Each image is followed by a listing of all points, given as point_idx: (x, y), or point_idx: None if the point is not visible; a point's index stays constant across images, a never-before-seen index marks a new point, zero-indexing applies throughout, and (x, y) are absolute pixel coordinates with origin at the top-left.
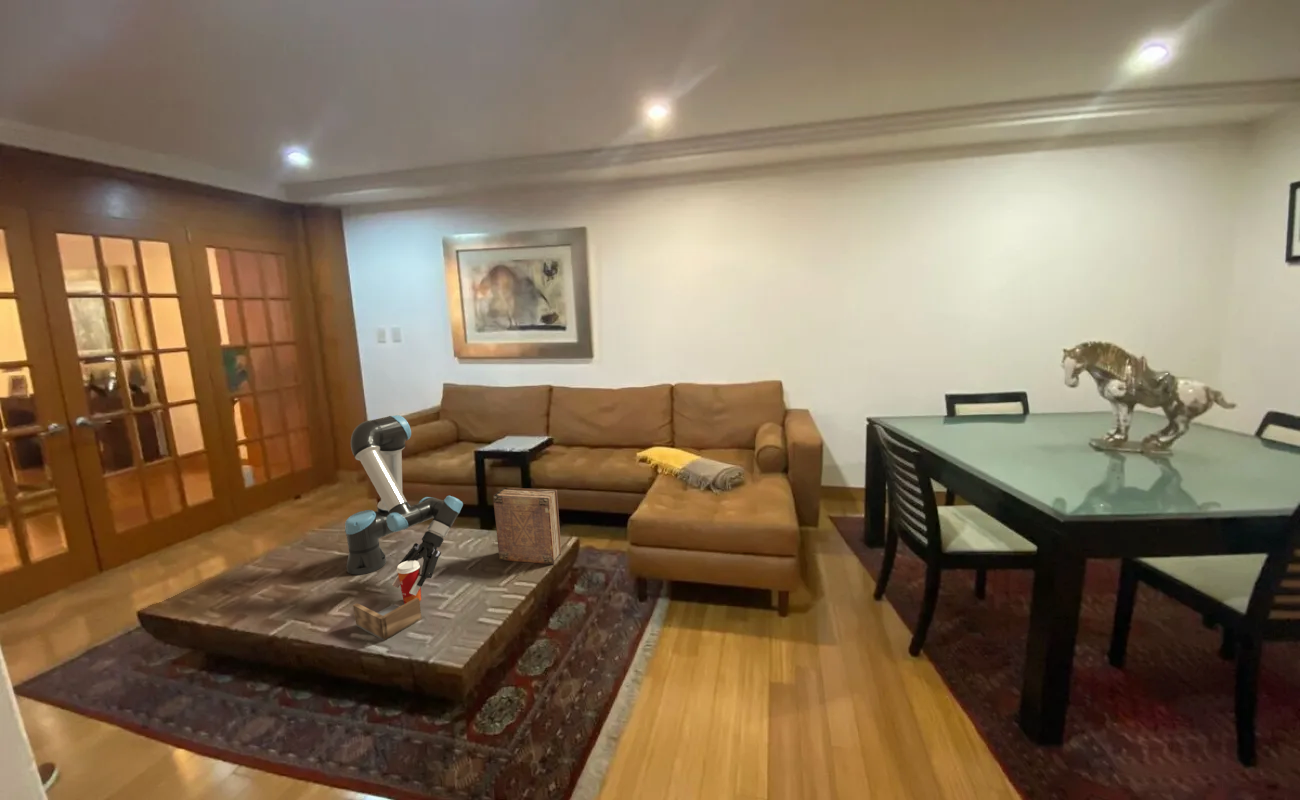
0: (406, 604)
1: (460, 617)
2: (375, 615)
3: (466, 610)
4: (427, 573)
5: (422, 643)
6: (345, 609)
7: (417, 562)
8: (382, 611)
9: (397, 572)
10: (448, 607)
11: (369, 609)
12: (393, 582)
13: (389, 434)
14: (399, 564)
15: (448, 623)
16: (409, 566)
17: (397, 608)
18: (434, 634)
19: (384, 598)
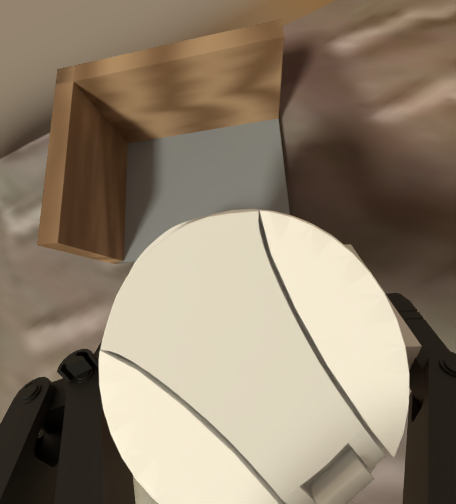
0: (52, 180)
1: (3, 350)
2: (103, 62)
3: (13, 394)
4: (15, 405)
5: (16, 199)
6: (441, 119)
7: (168, 492)
8: (274, 193)
9: (251, 209)
10: None
11: (172, 59)
12: (357, 255)
13: None
14: (367, 281)
15: (16, 302)
16: (165, 331)
17: (63, 141)
18: (15, 242)
19: (395, 254)
